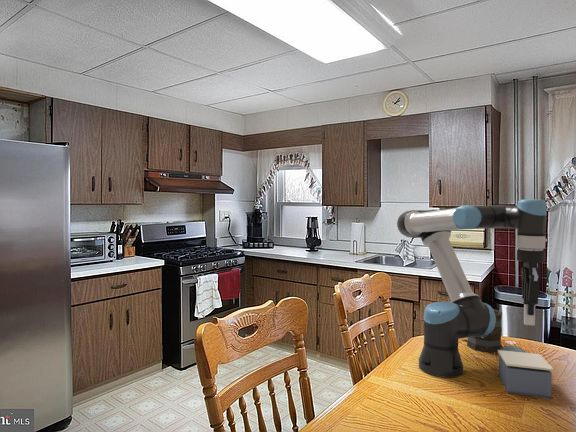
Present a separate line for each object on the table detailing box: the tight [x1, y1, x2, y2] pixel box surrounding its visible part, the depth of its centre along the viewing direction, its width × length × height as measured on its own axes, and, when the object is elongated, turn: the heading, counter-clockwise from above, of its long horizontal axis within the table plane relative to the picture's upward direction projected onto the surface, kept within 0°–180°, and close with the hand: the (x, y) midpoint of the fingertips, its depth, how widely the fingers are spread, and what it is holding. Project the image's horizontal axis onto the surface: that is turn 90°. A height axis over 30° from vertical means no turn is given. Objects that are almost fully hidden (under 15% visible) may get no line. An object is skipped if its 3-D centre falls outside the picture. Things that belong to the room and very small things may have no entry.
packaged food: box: [500, 345, 528, 353], centre depth 149 cm, size 9×12×5 cm
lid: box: [497, 350, 555, 372], centre depth 129 cm, size 13×14×1 cm
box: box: [497, 354, 553, 400], centre depth 129 cm, size 12×14×8 cm
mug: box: [466, 308, 503, 354], centre depth 166 cm, size 20×14×15 cm
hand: (529, 324), depth 123 cm, fingers closed
